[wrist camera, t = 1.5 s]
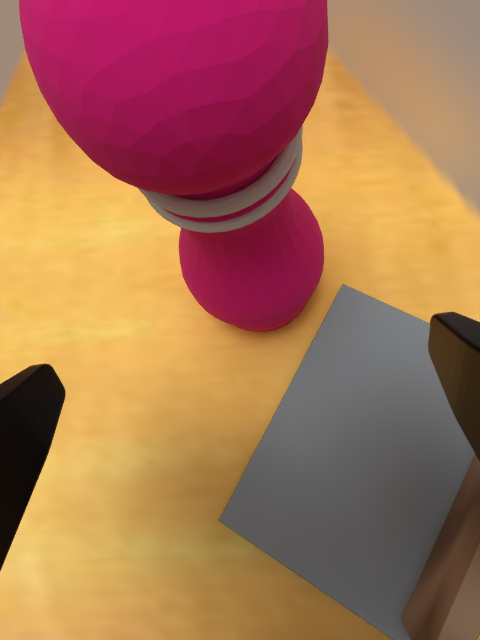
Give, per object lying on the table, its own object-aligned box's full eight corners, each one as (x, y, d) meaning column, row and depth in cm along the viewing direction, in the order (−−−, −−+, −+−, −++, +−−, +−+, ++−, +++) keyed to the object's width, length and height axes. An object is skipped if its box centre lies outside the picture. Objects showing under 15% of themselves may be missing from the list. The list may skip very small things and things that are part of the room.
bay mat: (414, 649, 18) (416, 655, 17) (220, 518, 20) (218, 520, 20) (535, 374, 19) (540, 373, 19) (342, 286, 22) (342, 284, 22)
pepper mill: (293, 212, 24) (263, -626, 4) (338, 314, 22) (634, -360, 3) (190, 254, 24) (-246, -326, 5) (225, 357, 22) (-251, 75, 3)
